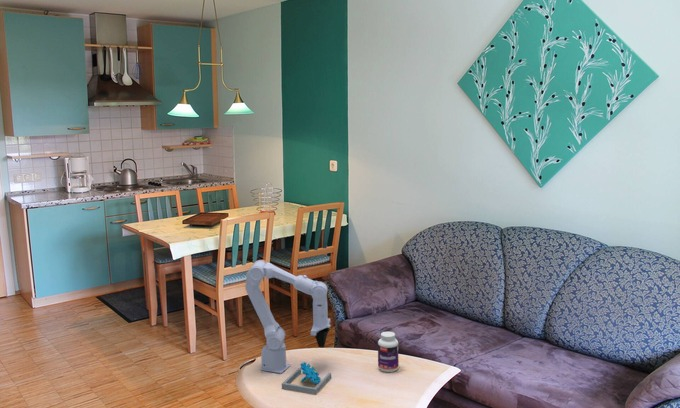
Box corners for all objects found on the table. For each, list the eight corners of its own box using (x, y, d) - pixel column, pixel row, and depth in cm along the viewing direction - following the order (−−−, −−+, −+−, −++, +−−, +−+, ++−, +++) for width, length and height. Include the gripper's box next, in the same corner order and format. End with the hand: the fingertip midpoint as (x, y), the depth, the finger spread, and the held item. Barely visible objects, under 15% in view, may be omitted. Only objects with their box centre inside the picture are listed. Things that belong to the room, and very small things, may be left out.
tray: (281, 388, 221) (281, 383, 220) (298, 372, 233) (298, 368, 233) (316, 394, 215) (315, 389, 215) (331, 378, 228) (331, 373, 228)
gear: (318, 385, 219) (299, 365, 220) (307, 396, 220) (288, 376, 221) (324, 376, 230) (307, 357, 231) (314, 386, 231) (296, 367, 232)
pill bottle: (377, 372, 231) (376, 337, 229) (378, 364, 239) (378, 330, 237) (398, 373, 230) (397, 338, 228) (399, 364, 238) (398, 330, 236)
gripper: (322, 321, 225) (323, 354, 227) (336, 308, 238) (337, 340, 241) (305, 318, 228) (306, 352, 230) (320, 306, 241) (322, 338, 243)
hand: (321, 346), depth 236 cm, fingers closed
